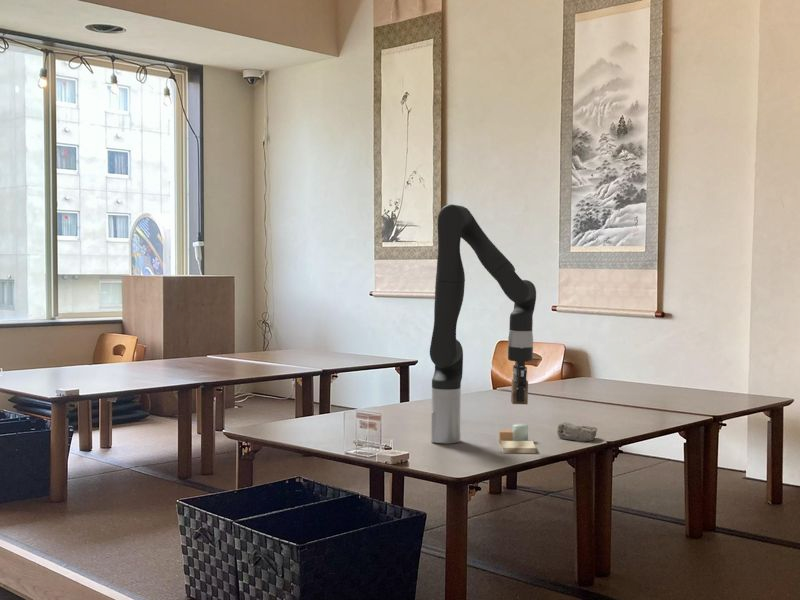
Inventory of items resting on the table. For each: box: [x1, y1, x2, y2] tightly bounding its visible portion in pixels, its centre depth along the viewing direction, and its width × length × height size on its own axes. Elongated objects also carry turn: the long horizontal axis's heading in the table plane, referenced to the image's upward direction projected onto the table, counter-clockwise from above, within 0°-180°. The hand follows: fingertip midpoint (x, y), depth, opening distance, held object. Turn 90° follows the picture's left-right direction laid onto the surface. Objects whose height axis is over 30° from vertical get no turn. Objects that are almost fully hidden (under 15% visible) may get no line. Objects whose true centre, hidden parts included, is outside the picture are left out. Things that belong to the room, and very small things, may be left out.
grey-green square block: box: [511, 423, 529, 441], centre depth 295 cm, size 5×5×5 cm
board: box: [499, 440, 537, 454], centre depth 282 cm, size 10×11×2 cm
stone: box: [556, 421, 598, 442], centre depth 299 cm, size 13×6×10 cm
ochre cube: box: [498, 429, 513, 444], centre depth 291 cm, size 4×4×4 cm
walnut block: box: [510, 379, 529, 405], centre depth 282 cm, size 4×4×7 cm
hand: (519, 400), depth 282 cm, fingers closed on walnut block, 4 cm apart
